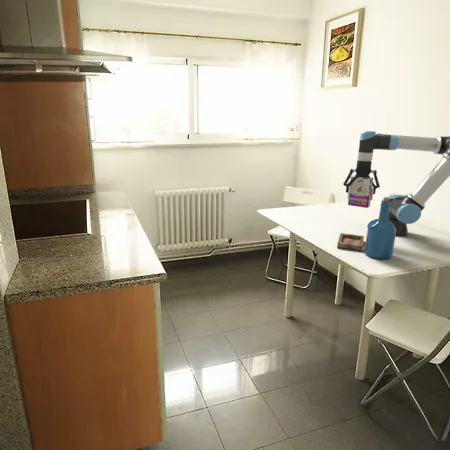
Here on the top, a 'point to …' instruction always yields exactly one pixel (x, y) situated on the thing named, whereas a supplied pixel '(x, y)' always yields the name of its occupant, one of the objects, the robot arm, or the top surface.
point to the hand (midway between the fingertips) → (359, 199)
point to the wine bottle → (381, 234)
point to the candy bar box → (360, 192)
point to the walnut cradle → (350, 242)
